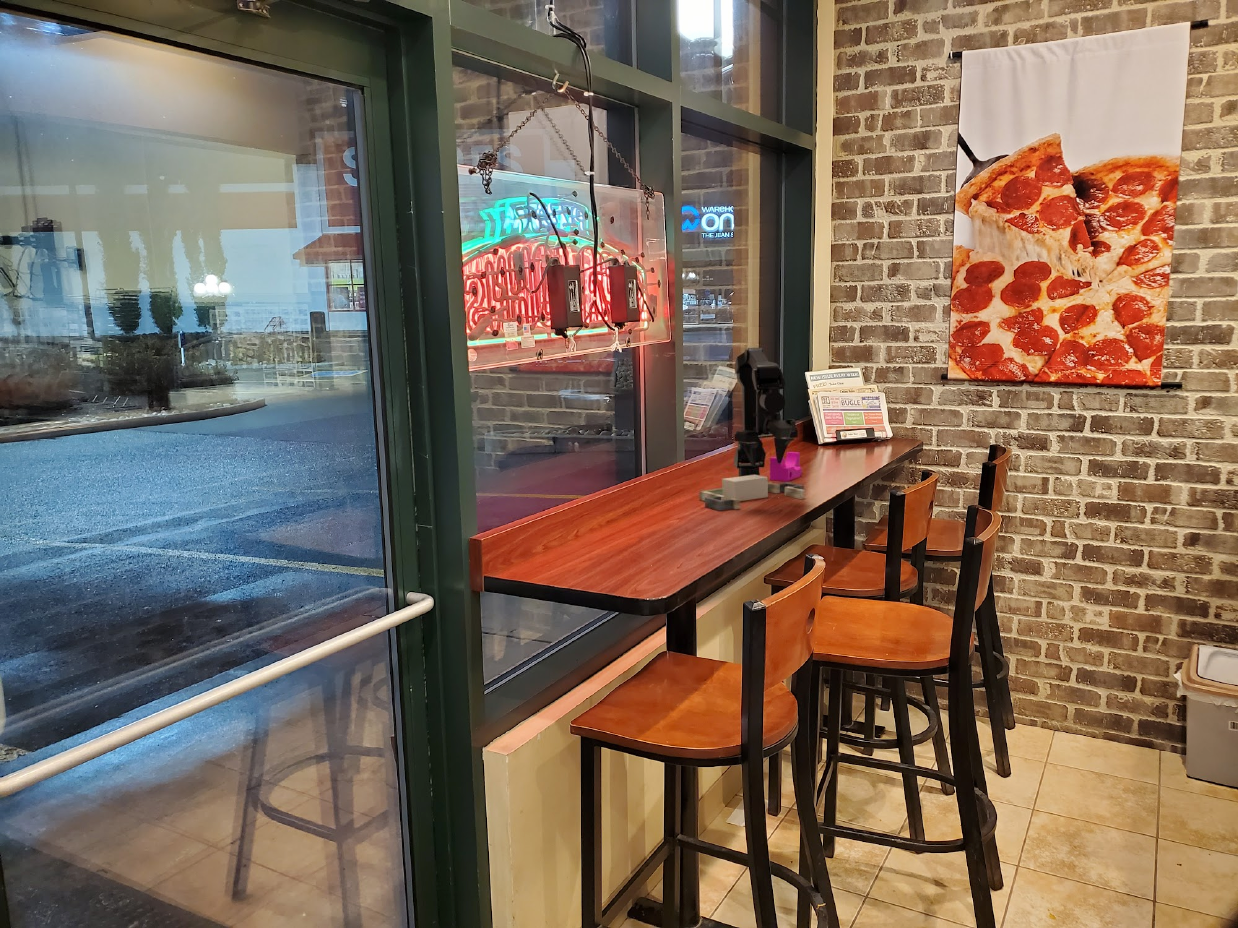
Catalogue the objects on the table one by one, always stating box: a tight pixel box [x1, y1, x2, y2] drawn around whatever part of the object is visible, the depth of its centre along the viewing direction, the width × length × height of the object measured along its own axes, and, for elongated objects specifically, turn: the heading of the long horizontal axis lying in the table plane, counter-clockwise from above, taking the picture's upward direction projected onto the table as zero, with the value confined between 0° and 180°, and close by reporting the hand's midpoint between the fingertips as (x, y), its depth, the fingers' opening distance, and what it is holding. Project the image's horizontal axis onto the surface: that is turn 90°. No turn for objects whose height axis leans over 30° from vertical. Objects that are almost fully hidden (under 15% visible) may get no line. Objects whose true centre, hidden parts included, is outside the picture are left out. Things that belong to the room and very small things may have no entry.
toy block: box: [769, 451, 802, 482], centre depth 303 cm, size 15×6×8 cm, turn 146°
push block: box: [721, 475, 769, 502], centre depth 272 cm, size 6×12×6 cm, turn 120°
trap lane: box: [698, 481, 806, 511], centre depth 270 cm, size 17×34×2 cm, turn 121°
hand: (766, 464), depth 263 cm, fingers open, 9 cm apart
